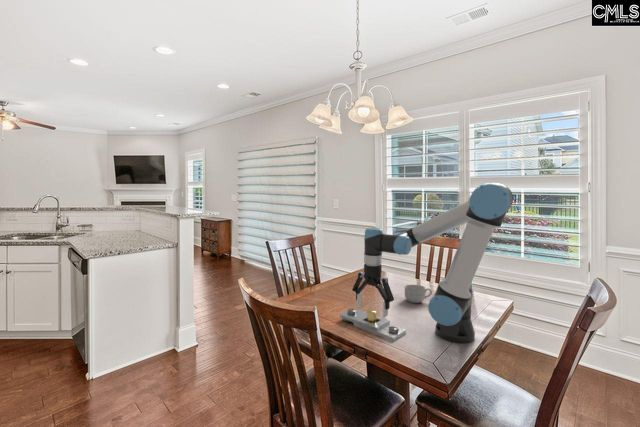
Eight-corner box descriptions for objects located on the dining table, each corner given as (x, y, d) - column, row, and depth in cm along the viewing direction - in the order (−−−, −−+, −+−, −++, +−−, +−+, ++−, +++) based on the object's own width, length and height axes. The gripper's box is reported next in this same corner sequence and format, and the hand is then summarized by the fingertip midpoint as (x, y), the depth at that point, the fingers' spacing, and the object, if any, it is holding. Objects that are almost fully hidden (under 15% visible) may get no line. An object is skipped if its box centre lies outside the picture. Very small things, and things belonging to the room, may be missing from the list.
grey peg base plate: (406, 333, 136) (406, 323, 136) (393, 341, 129) (393, 331, 129) (353, 314, 156) (353, 305, 155) (339, 320, 148) (339, 311, 148)
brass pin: (377, 326, 143) (378, 310, 142) (373, 329, 139) (373, 313, 139) (369, 323, 145) (370, 308, 144) (365, 326, 142) (365, 311, 141)
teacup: (401, 302, 171) (402, 287, 170) (406, 296, 180) (407, 282, 180) (429, 307, 164) (429, 292, 164) (432, 300, 174) (433, 286, 173)
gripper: (403, 267, 134) (401, 317, 136) (355, 257, 151) (354, 302, 153) (393, 271, 128) (392, 323, 130) (344, 260, 145) (344, 306, 148)
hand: (371, 311), depth 142 cm, fingers open, 13 cm apart
